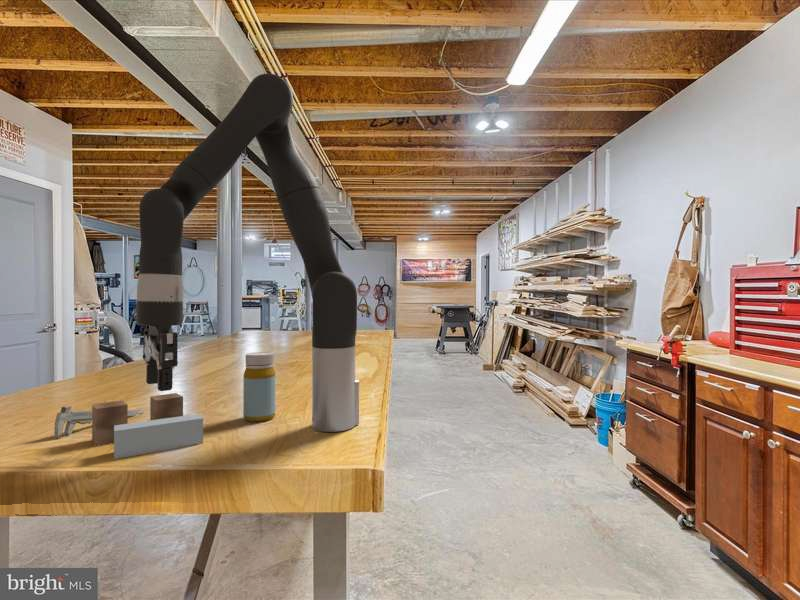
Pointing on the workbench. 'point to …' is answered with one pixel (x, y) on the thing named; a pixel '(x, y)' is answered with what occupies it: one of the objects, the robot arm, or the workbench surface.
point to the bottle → (259, 387)
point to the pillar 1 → (107, 420)
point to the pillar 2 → (166, 406)
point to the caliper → (77, 419)
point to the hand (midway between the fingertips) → (158, 386)
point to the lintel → (157, 435)
